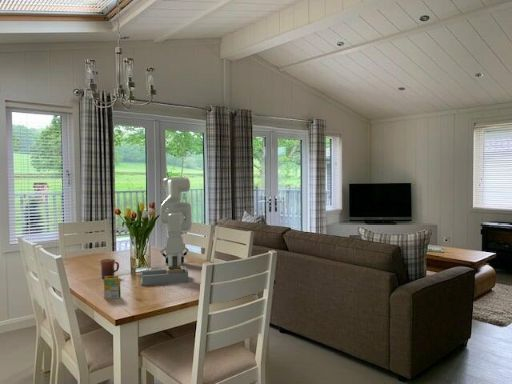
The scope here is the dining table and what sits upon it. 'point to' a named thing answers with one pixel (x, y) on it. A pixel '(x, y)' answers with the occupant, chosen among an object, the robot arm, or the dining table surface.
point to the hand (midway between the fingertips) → (174, 263)
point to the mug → (108, 267)
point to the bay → (163, 277)
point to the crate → (174, 267)
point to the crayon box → (111, 287)
